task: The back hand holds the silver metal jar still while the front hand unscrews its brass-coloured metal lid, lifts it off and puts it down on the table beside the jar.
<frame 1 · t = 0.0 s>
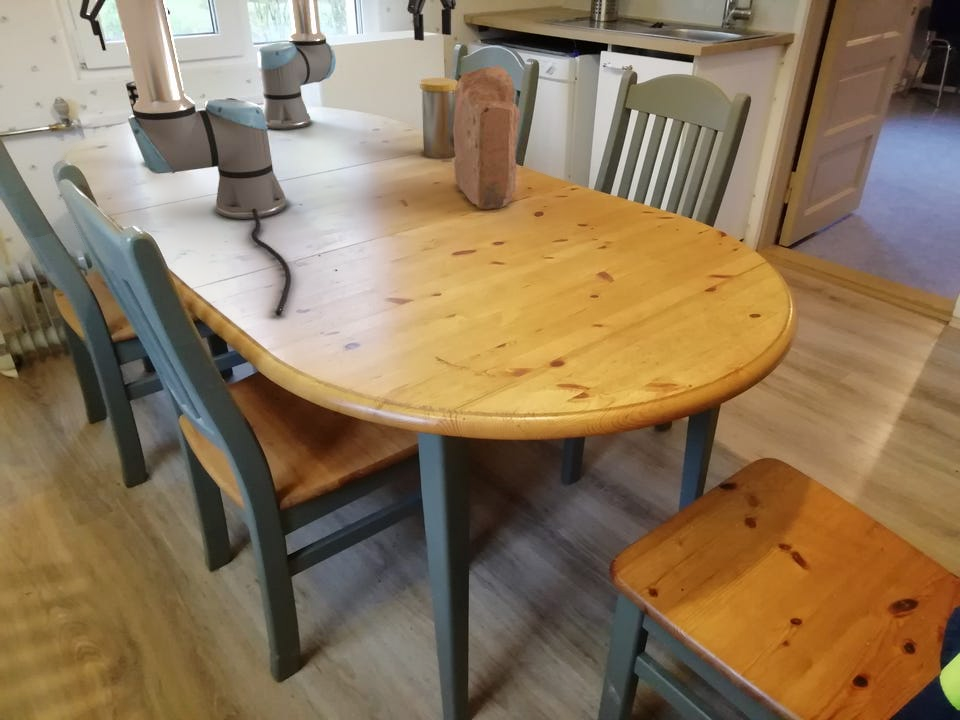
front hand: (133, 48, 174), 28 cm above the table, tool pointing down, fingers open, 13 cm apart
back hand: (433, 37, 195), 28 cm above the table, tool pointing down, fingers open, 13 cm apart
jar: (440, 153, 196), on the table
stone: (485, 195, 167), on the table
lid: (438, 82, 186), point 19 cm above the table, screwed on, not yet turned
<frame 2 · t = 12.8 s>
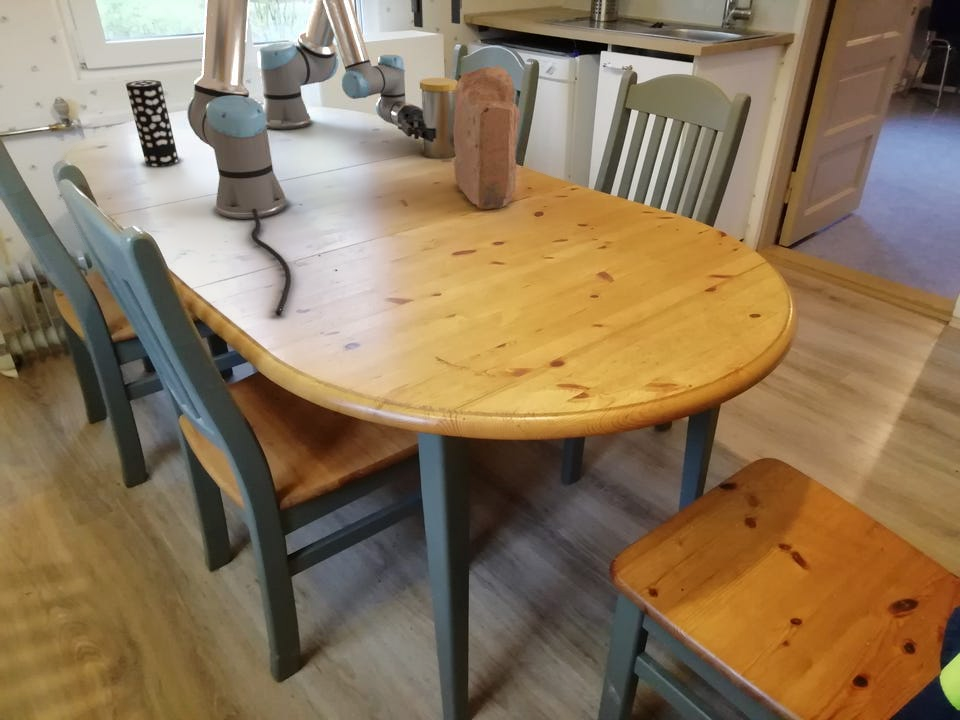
front hand: (437, 25, 178), 33 cm above the table, tool pointing down, fingers open, 11 cm apart
back hand: (447, 134, 190), 6 cm above the table, tool horizontal, fingers closed on jar, 9 cm apart
jar: (440, 153, 196), on the table, touching back hand
everything else where it was.
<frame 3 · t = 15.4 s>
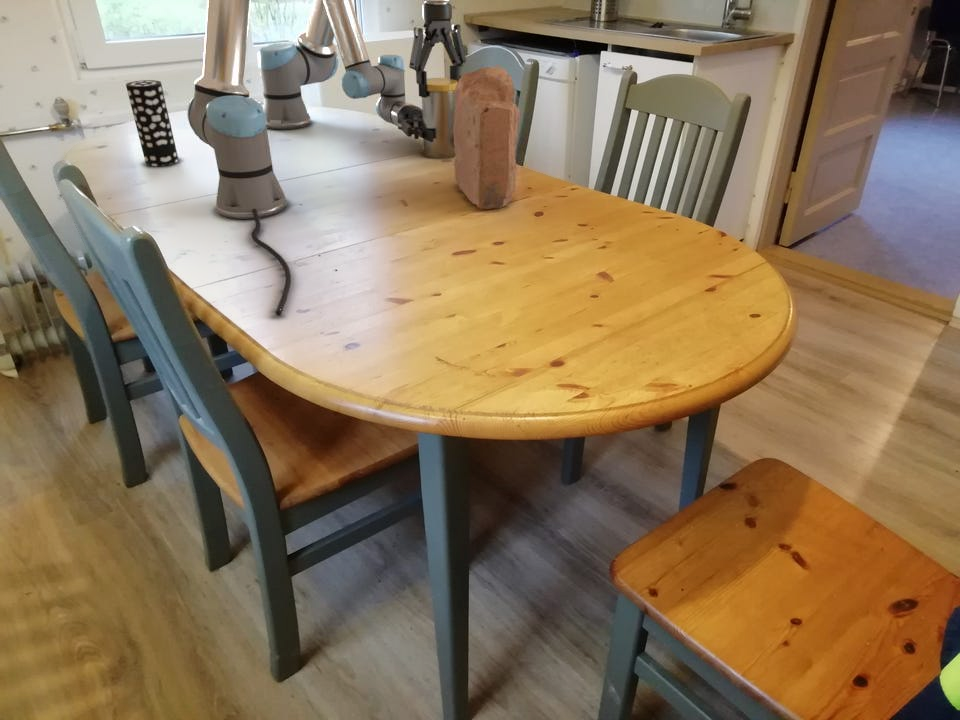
front hand: (438, 94, 187), 16 cm above the table, tool pointing down, fingers closed on lid, 10 cm apart
back hand: (447, 134, 190), 6 cm above the table, tool horizontal, fingers closed on jar, 9 cm apart
jar: (440, 153, 196), on the table, touching back hand
lid: (438, 82, 186), point 19 cm above the table, screwed on, not yet turned, touching front hand
everything else where it was.
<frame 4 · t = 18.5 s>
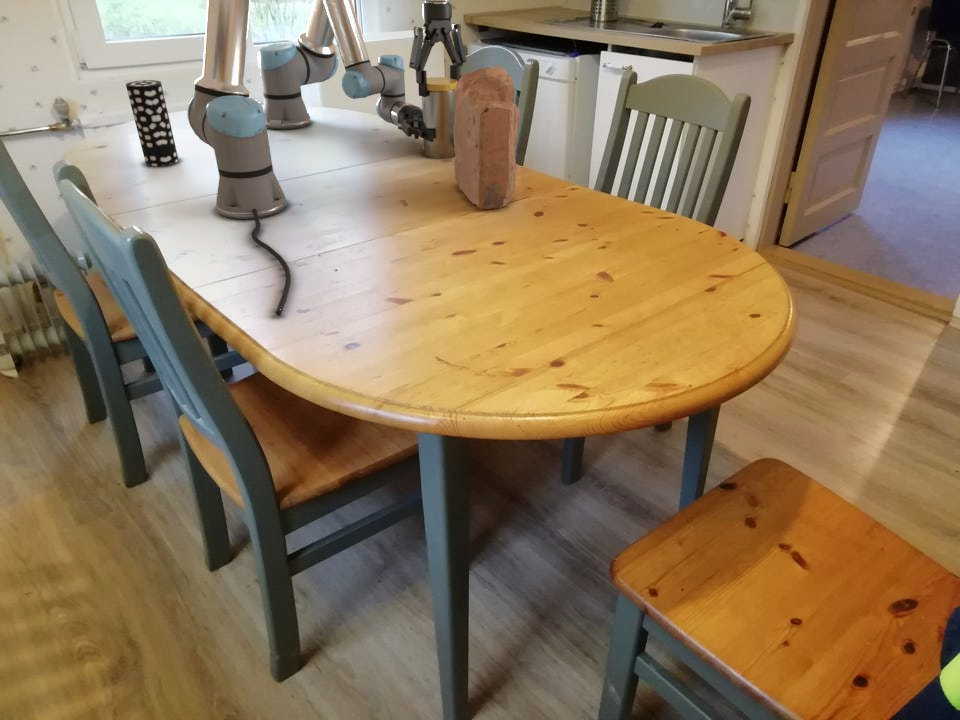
front hand: (438, 93, 187), 16 cm above the table, tool pointing down, fingers closed on lid, 10 cm apart
back hand: (447, 134, 190), 6 cm above the table, tool horizontal, fingers closed on jar, 9 cm apart
jar: (440, 153, 196), on the table, touching back hand
lid: (438, 82, 186), point 19 cm above the table, turned 95° so far, risen 0.1 cm, still on its thread, touching front hand
everything else where it was.
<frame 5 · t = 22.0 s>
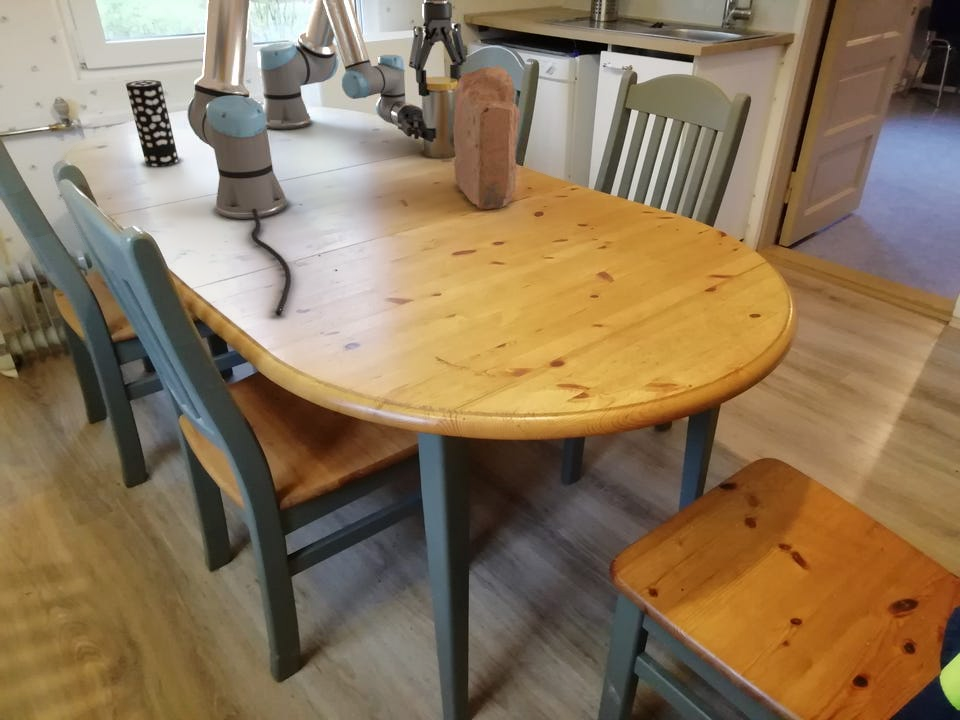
front hand: (438, 93, 187), 16 cm above the table, tool pointing down, fingers closed on lid, 10 cm apart
back hand: (447, 134, 190), 6 cm above the table, tool horizontal, fingers closed on jar, 9 cm apart
jar: (440, 153, 196), on the table, touching back hand
lid: (438, 81, 186), point 19 cm above the table, turned 189° so far, risen 0.3 cm, still on its thread, touching front hand
everything else where it was.
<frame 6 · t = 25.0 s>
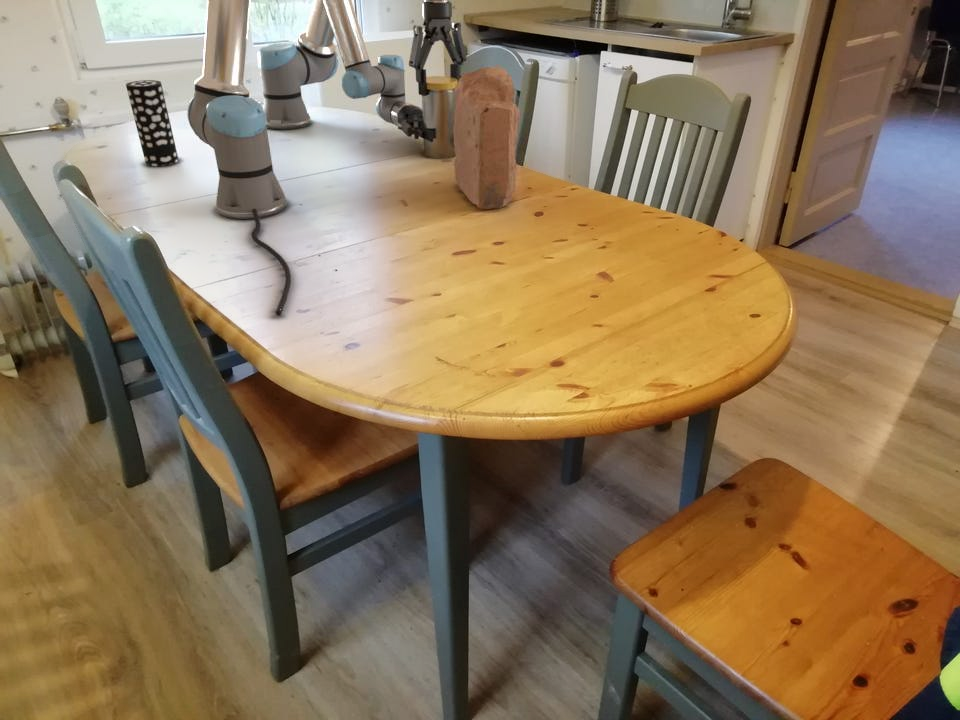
front hand: (438, 92, 187), 17 cm above the table, tool pointing down, fingers closed on lid, 10 cm apart
back hand: (447, 134, 190), 6 cm above the table, tool horizontal, fingers closed on jar, 9 cm apart
jar: (440, 153, 196), on the table, touching back hand
lid: (438, 81, 186), point 20 cm above the table, turned 284° so far, risen 0.4 cm, still on its thread, touching front hand
everything else where it was.
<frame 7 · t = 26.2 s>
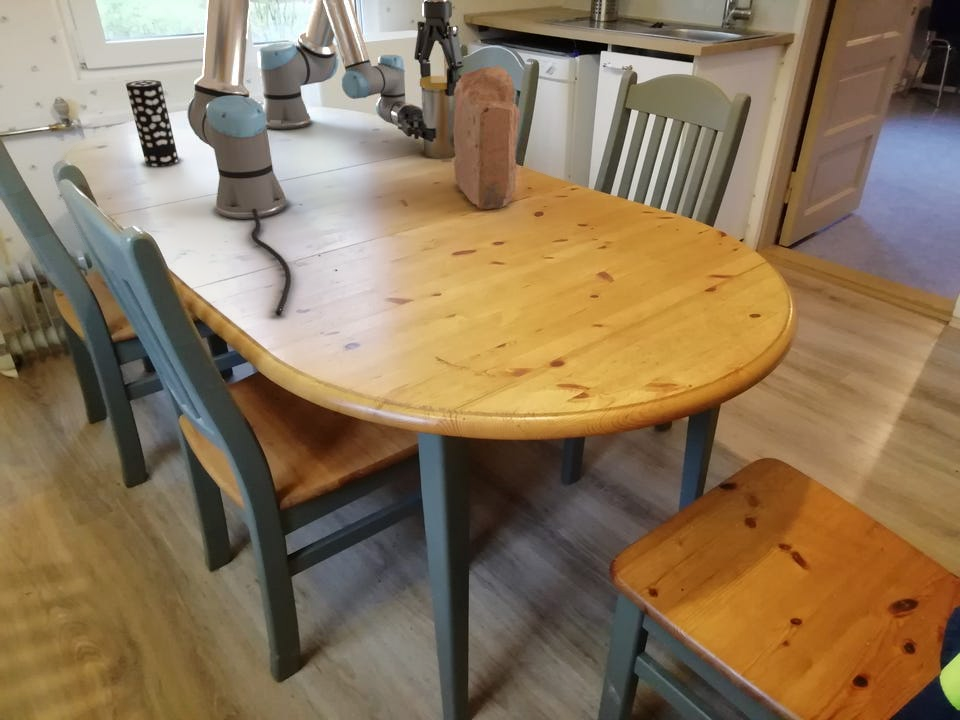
front hand: (438, 92, 187), 17 cm above the table, tool pointing down, fingers closed on lid, 10 cm apart
back hand: (447, 134, 190), 6 cm above the table, tool horizontal, fingers closed on jar, 9 cm apart
jar: (440, 153, 196), on the table, touching back hand
lid: (438, 80, 186), point 20 cm above the table, off its thread, touching front hand
everything else where it was.
when the front hand's fingers open (0 cm above the table, at t = 32.4 s): lid drops 2 cm, point 1 cm above the table.
when the back hand's fingers open (6 cm above the table, at t = 33.4 s): jar stays where it is, on the table.
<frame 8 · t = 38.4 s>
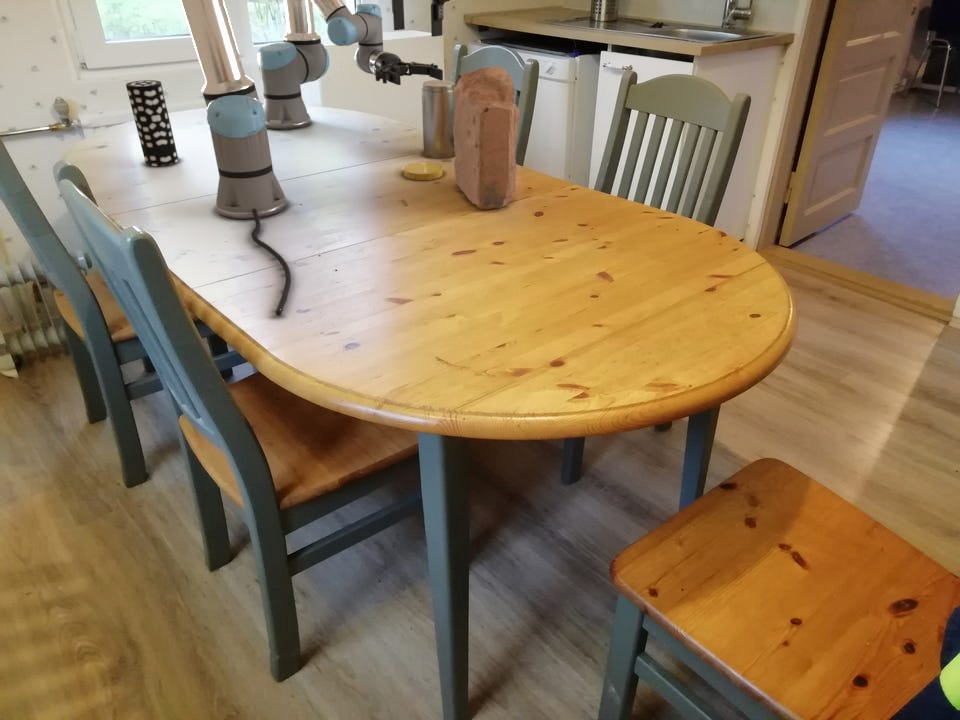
front hand: (417, 32, 162), 34 cm above the table, tool pointing down, fingers open, 13 cm apart
back hand: (420, 77, 193), 19 cm above the table, tool horizontal, fingers open, 13 cm apart
jar: (440, 153, 196), on the table
lid: (423, 169, 180), point 1 cm above the table, off its thread
everything else where it was.
at the end: lid came off its thread; lid point 1.3 cm above the table; the front hand is holding nothing; the back hand is holding nothing; jar tilted 0°; jar moved 0.0 cm from its start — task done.
